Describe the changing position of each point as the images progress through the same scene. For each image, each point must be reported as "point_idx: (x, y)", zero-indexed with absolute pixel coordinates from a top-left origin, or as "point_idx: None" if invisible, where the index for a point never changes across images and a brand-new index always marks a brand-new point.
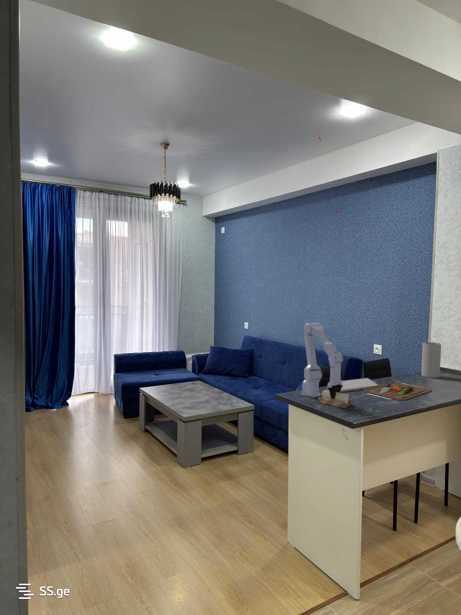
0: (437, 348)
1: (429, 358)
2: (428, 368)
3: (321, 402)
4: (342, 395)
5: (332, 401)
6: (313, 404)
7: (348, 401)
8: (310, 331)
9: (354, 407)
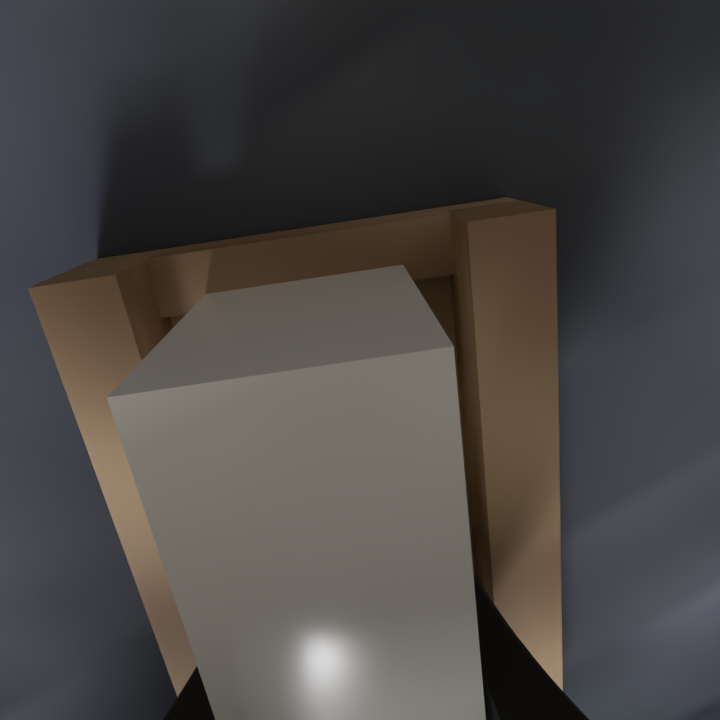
0: None
1: None
2: None
3: None
4: (461, 459)
5: (553, 535)
6: (690, 690)
7: (149, 321)
8: None
9: (224, 57)
